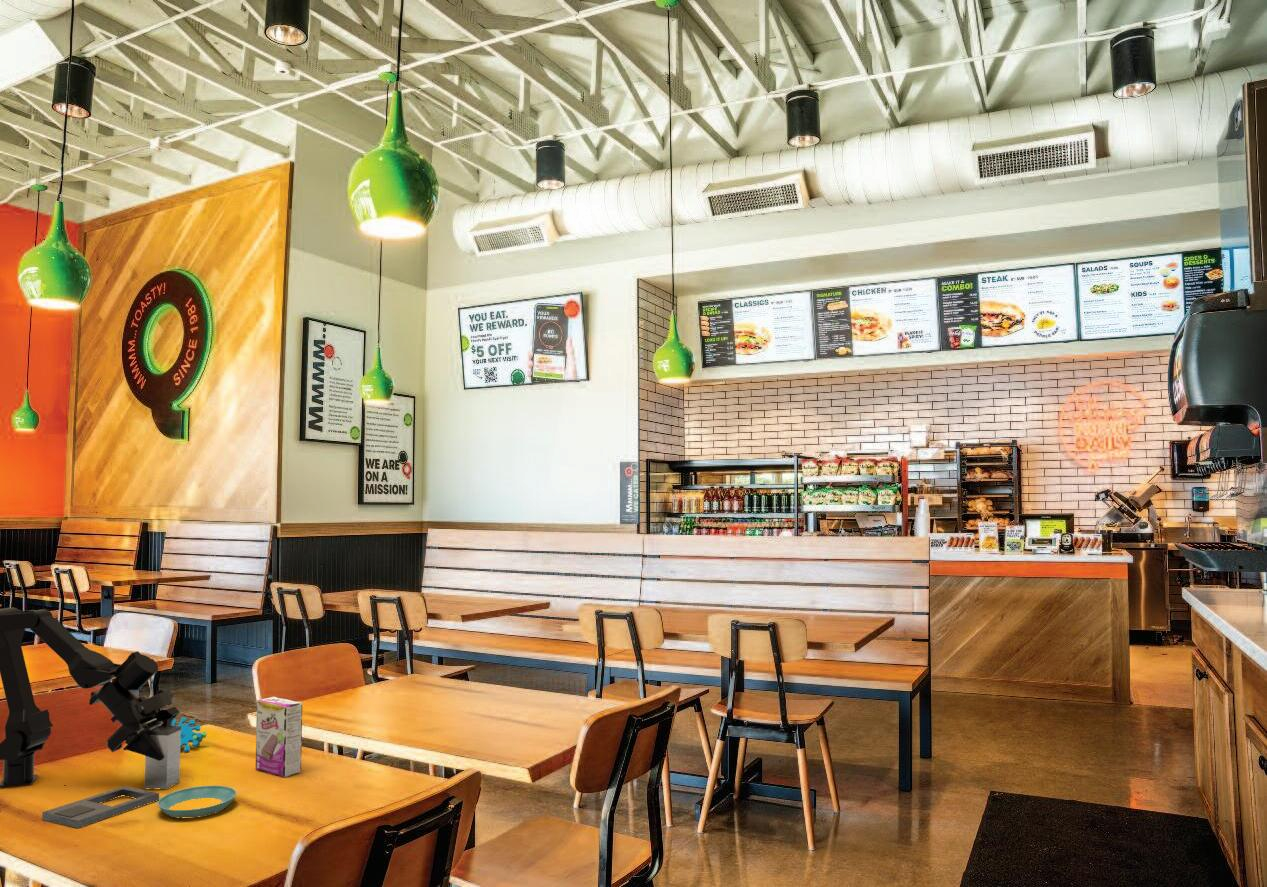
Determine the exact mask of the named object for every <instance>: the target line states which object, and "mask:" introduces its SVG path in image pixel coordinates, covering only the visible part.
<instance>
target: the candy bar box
mask: <svg viewBox="0 0 1267 887" xmlns="http://www.w3.org/2000/svg"><path fill="white" fill-rule="evenodd" d="M255 727H256V729H255V730H256V731H255V732H256V733H255V734H256V736H255V770H256V771H261V772H263V773H264V772H265V773H267V774H271V775H275V776H279V777H281V778H288V777H292V776H294V775H298V774H300V773H302V746H303V744H302V743H303V742H302V740H303V702H301V701H296V700H291V699H286V698H282V697H278V696H271V697H264V698H260V699H257V700H256V726H255Z"/></svg>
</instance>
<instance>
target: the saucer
mask: <svg viewBox="0 0 1267 887" xmlns="http://www.w3.org/2000/svg"><path fill="white" fill-rule="evenodd" d="M237 792H238V791H236V789H235V788H233V787H230V786H223V785H201V786H193V787H188V788H183V789H179V790H175V791H173V792H170V793H167V794H166V795H164V796H162V797H161V798H159V801H156V802H157V804H156V805H157V807H158V808H159V809H160V810H161V811H162V812H163V813H164V814H166V815H167V816H168V815H169V816H168V817H170V816H172V817H171V818H173V817H179V818H182V817H198V816H204V817H206V816H205V815H208V816H210V815H209V814H212V815H214V814H213V813H215V812H217V813H219V812H218V811H220V812H221V810H222V811H223V810H224V808H225V809H226V808H227V807H228V806H229V805H230V804H231V803H232V802H233V800H235V797H236V796H237ZM199 798H200V799H201V798H215V799H220V800H221V801H222V802H223V803H221V802H220V804H217V805H214V806H210V807H206V808H200V809H192V810H170V809H169V808H170V807H171V806H174V805H175V804H177V803H181V802H183V801H187V800H191V799H199ZM215 814H216V813H215ZM179 818H178V819H179ZM198 818H199V817H198Z"/></svg>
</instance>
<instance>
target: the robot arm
mask: <svg viewBox="0 0 1267 887" xmlns="http://www.w3.org/2000/svg"><path fill="white" fill-rule="evenodd" d="M27 629H29V630H30V631H32V632H33V633H34V634H35V635H36V636H37V637H38V638H39V639H41V641H43V643H44V644H45V645H47V646H48V647H49V648H50V649H51V650H52V651H53V652H54V653H55V654H56V655H57V656H58V657H59V658H60V659H62V660H63V661H64V662H65V664H66V665H67V669H68V673H69V675H70V677H71V678H72V679H73V681H74V682H75V683H76V685H77V686H78V687H80V688H82V689H92V688H95V687H99V686H101V687H100V688H99V689H98V690H94V691H91V692H90V697H89V702H88V704H89V705H90V706H92V705H95V704H98V703H101V704H102V705H103V706H104V707H105V708H106V709H107V711H108V712H110V713H111V715H112V717H111V719H110V720H111V722H112V723H116V722H118V723H119V724H120V725H121V726H120V727H118V729H116V731H114V733H113V734H111V735H110V737H109V738H108V739H106V747H107V748H108V749H109V750H110V751H111V753H115V752H116V751H119V750H121V749H122V750H123V751H129V752H132V753H136V754H140V755H142V756H144V757H146V756H147V757H150V758H153V759H156V760H158V761H160V760H162V759H163V758H164V756H163V755H162V753H161V752H160V750H159V749H158V747H157V746H156V745H155V743H154V742H153V741H152V739H151V738H150V730H151V729H153V728H155V727H158V726H172V724H171V722H172V721H173V719H176V718H177V716H178V715H179V714H180V710H178V709H177V707H176V706H174V705H173V701H172V700H173V698H174V692H172V691H171V690H170V689H168V688H167V687H164V688H161V689H159V690H156V691H155V695H153V696H150V697H148V698H146V697H144V696H139V697H138V696H136V694H135V693H134V692H133V691H138V690H140V689H141V688H142V687H144V685H145V684H146V683H147V682H148V681H150V680H151V678H152V677H153V676H154V675H156V674H157V673H158V671H159V666H158V665H159V664H158V663H157V662H156V661H155V660H154V658H150V657H149V656H147V655H145V654H141V653H140V652H139V650H137V651H134V652H131V653H130V654H129V655H128V657H127V658H125V659H126V660H124V661H123V662H122V664H121V663H114V662H113V661H112V660H111V659H110V658H108V657H106V656H105V655H103V654H102V653H100V652H97V651H95V650H92V649H89V648H87V647H86V646H85V645H84V644H83V643H82V642H81V641H80V640H78V638H77V637H75V636H74V635H73V634H72V633H71V632H70V631H69V630H68V629H67V628H66V627H65V626H64V625H63V624H61V622H60V621H58V620H57V619H56V618H55V617H54V616H53V613H52V611H50V610H49V609H46V608H42V609H37V610H33V609H31V610H20V609H18V608H16V607H5V608H0V679H1V683H2V687H3V692H4V696H5V700H6V705H7V709H8V716H7V719H6V722H5V726H4V736H5V738H4V739H3V741H1V743H0V761H3V765H2V766H3V768H2V769H3V770H2V780H1V781H0V789H1V788H9V787H10V786H11V787H18V786H20V787H21V786H28V785H32V784H34V782H35V781H36V780H37V778H38V777H39V774H38V773H34V772H35V771H34V770H35V752H38V751H41V750H43V748H44V746H45V743H46V742H47V740H48V739H49V737H50V736H51V734H52V727H54V726H53V723H52V722H51V719H50V712H49V710H48V709H44V710H41V709H40V708H39V707H38V706H37V704H36V703H35V702H36V701H35V699H34V694H33V691H32V690H33V689H32V685H31V682H30V676H29V673H28V668H27V665H26V661H25V656H24V652H23V647H22V643H23V642H22V641H23V638H24V635H25V631H26V630H27ZM172 705H173V706H172ZM166 706H167V707H166ZM124 742H125V744H126V745H125V746H124V747H123V743H124ZM11 787H10V788H11Z"/></svg>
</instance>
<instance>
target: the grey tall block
mask: <svg viewBox="0 0 1267 887" xmlns="http://www.w3.org/2000/svg"><path fill="white" fill-rule="evenodd" d="M150 738H151V739H152V741H153V742H154V743H155V745H156V746H157V747H158V749H159V750H160V752H161V753H162V755H163V756H164V758H163V759H162V760H160V761H158V760H156V759H153V758H150V757H147V756H144V757H145V758H144V760H145V763H144V766H145V767H144V788H160V789H159V790H161V789H167V788H168V789H170V788H172V787H173V786H172V785H174V784H175V785H177V784H179V783H180V770H181V766H180V765H181V748H180V745H181V726H172V725H171V726H158V727H155V728H153V729H151V730H150ZM178 782H179V783H178ZM176 783H177V784H176ZM175 785H174V786H175ZM171 786H172V787H171ZM169 787H170V788H169ZM144 788H143V789H144ZM168 789H167V790H168Z"/></svg>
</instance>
